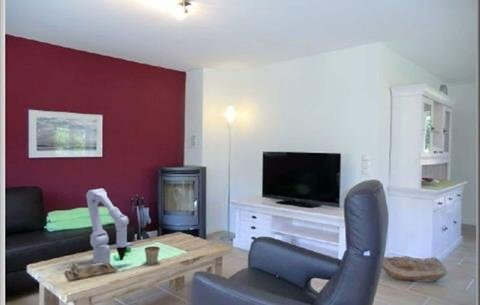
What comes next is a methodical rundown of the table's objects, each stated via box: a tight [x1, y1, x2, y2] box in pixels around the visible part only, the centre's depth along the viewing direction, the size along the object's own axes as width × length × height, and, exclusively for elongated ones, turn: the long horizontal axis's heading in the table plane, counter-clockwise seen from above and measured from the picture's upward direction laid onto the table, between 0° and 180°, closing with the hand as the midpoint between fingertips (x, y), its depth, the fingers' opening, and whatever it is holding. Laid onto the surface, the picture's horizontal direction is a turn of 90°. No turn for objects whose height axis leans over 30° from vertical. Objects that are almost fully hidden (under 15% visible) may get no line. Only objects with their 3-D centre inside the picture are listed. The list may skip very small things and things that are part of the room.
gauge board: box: [64, 263, 117, 282], centre depth 196 cm, size 24×14×6 cm, turn 125°
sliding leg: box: [101, 258, 111, 268], centre depth 202 cm, size 3×8×3 cm, turn 35°
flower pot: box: [143, 246, 161, 265], centre depth 214 cm, size 9×9×9 cm
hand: (121, 259), depth 209 cm, fingers closed
